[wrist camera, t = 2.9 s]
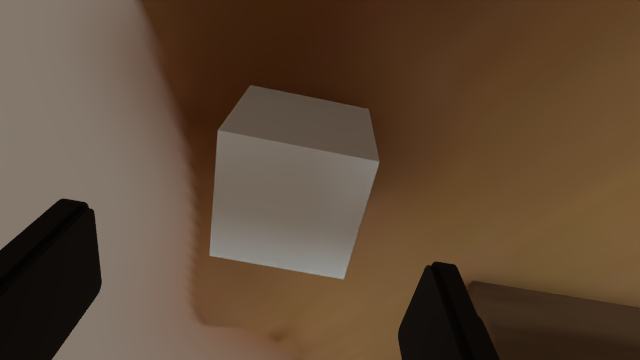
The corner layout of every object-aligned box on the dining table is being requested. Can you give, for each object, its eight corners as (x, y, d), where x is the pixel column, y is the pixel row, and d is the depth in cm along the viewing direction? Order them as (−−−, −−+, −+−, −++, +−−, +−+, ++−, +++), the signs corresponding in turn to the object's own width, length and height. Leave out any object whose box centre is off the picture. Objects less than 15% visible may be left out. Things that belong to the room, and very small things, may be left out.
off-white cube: (250, 84, 16) (217, 130, 12) (368, 108, 16) (379, 161, 12) (239, 186, 18) (209, 255, 14) (342, 205, 19) (343, 279, 14)
